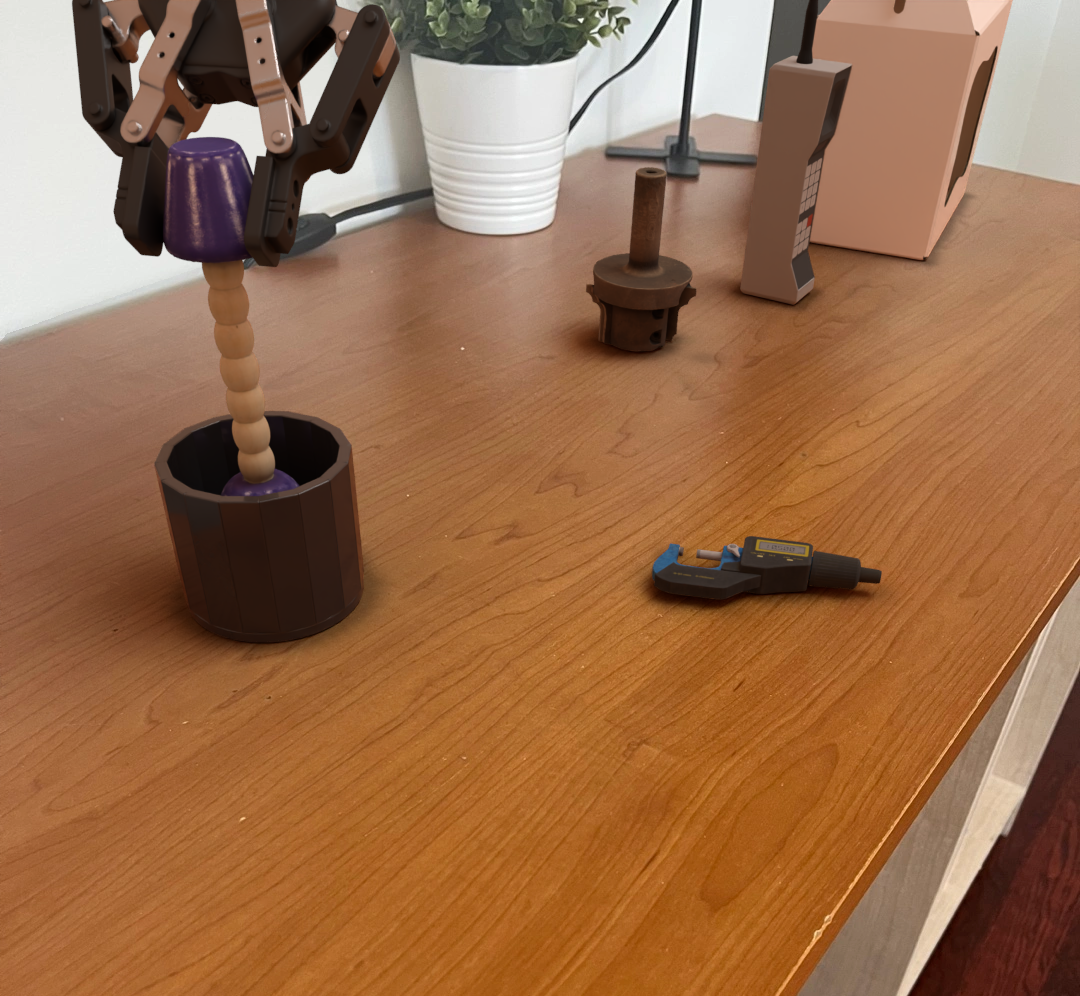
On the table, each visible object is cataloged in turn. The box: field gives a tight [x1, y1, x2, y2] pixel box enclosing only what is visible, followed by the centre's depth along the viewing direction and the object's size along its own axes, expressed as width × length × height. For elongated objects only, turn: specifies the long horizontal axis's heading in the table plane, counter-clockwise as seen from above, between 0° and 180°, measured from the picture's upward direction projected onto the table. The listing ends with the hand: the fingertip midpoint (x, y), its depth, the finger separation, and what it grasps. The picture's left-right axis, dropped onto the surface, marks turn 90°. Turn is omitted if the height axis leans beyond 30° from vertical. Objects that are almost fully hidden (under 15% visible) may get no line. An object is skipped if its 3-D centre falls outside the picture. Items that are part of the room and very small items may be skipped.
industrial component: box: [585, 166, 698, 352], centre depth 81 cm, size 9×7×12 cm
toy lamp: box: [163, 136, 299, 496], centre depth 51 cm, size 5×5×17 cm
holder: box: [153, 410, 365, 644], centre depth 57 cm, size 9×9×8 cm
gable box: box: [810, 0, 1014, 261], centre depth 100 cm, size 22×13×28 cm, turn 156°
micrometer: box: [651, 535, 883, 600], centre depth 60 cm, size 12×2×5 cm
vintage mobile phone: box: [739, 0, 852, 305], centre depth 85 cm, size 4×5×25 cm
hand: (201, 250), depth 47 cm, fingers closed on toy lamp, 4 cm apart
